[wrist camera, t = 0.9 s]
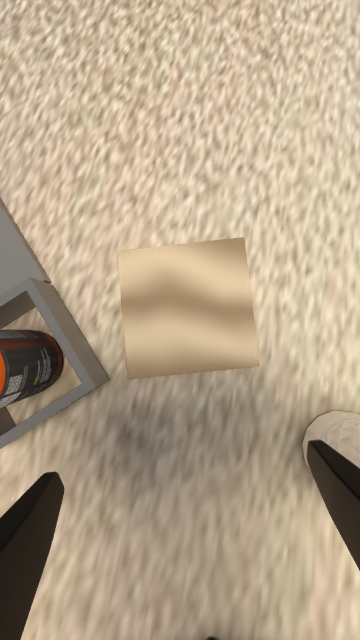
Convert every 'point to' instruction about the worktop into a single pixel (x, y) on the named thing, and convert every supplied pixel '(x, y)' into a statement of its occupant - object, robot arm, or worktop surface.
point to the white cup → (336, 434)
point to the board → (187, 308)
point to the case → (34, 290)
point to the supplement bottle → (26, 364)
